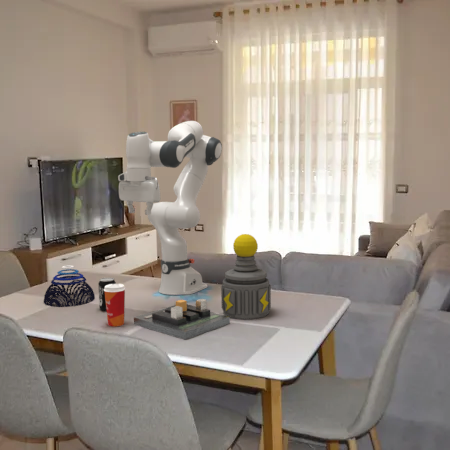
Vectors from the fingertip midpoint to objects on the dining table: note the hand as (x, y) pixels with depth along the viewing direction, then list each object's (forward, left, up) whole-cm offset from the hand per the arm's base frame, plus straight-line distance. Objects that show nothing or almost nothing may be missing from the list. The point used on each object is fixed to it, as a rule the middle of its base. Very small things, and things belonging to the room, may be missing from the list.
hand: (139, 213), depth 208 cm
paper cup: (+15, +3, -38) cm, 41 cm away
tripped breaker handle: (0, +21, -33) cm, 39 cm away
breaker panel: (0, +21, -38) cm, 43 cm away
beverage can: (+5, -15, -38) cm, 41 cm away
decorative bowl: (+7, -39, -38) cm, 55 cm away
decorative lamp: (-25, +30, -38) cm, 55 cm away
